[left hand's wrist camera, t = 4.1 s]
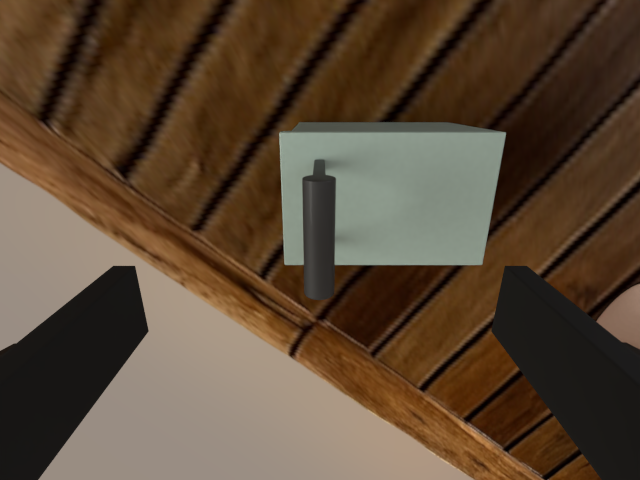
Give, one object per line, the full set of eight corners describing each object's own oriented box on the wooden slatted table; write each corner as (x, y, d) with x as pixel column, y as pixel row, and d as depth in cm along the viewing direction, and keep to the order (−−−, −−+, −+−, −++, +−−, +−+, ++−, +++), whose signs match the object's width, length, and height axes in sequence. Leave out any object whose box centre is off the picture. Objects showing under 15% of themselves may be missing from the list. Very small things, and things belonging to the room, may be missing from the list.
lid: (285, 259, 28) (271, 325, 20) (280, 131, 24) (260, 146, 16) (476, 259, 28) (541, 325, 20) (499, 131, 24) (589, 146, 16)
